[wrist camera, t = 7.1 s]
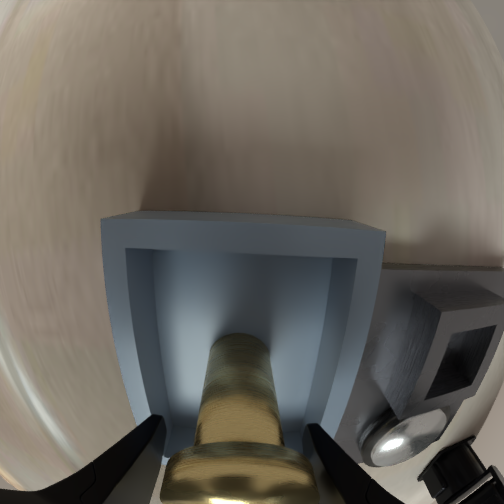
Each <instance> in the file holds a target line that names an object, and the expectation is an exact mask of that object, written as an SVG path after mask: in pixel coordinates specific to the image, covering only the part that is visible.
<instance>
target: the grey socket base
mask: <svg viewBox="0 0 504 504" xmlns="http://www.w3.org/2000/svg"><path fill="white" fill-rule="evenodd" d="M503 331H504V268H502V267H482V266H450V265H421V264H394V263H382V267H381V273H380V279H379V285H378V290H377V295H376V300H375V305H374V310H373V315H372V319H371V323H370V328H369V332H368V336H367V340H366V344H365V347H364V351H363V355H362V358H361V362H360V365H359V369H358V372H357V375H356V379H355V382H354V385H353V388H352V391H351V394H350V397H349V400H348V403H347V405H346V408H345V411H344V414H343V416H342V419H341V422H340V424H339V427H338V429H337V432H336V434H335V437H334V439H333V440H334V441H335V442H336V443H337V444H338V445H339V446H340V447H341V448H342V449H343V450H344V451H345V452H346V453H347V454H348V455H349V456H350V457H351V458H352V459H353V460H354V461H355V462H356V463H357V464H358V463H363V462H364V463H365V464H366V465H368V466H371V467H384V466H392V465H395V464H398V463H401V462H404V461H406V460H408V459H410V458H412V457H414V456H415V455H417V454H419V453H420V452H421V451H423V450H424V449H425V448H427V447H428V446H429V445H430V444H431V443H432V442H435V441H438V440H439V439H440V437H441V436H442V434H443V433H444V431H445V430H446V428H447V427H448V425H449V424H450V422H451V421H452V419H453V417H454V416H455V414H456V412H457V411H458V409H459V407H460V406H461V404H462V402H463V400H464V399H467V398H469V397H472V396H474V395H475V394H476V392H477V390H478V388H479V386H480V384H481V382H482V380H483V378H484V376H485V374H486V372H487V370H488V368H489V366H490V363H491V361H492V359H493V357H494V354H495V352H496V350H497V347H498V345H499V342H500V339H501V337H502V334H503Z"/></svg>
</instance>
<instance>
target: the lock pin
mask: <svg viewBox="0 0 504 504" xmlns="http://www.w3.org/2000/svg"><path fill="white" fill-rule="evenodd" d="M160 500H161V502H162V503H163V504H318V503H319V501H320V495H319V491H318V487H317V483H316V479H315V475H314V471H313V467H312V464H311V462H310V460H309V459H308V458H307V457H306V456H304V455H303V454H301V453H300V452H297V451H295V450H293V449H290V448H286V447H285V444H284V438H283V432H282V426H281V420H280V414H279V408H278V402H277V396H276V390H275V384H274V379H273V373H272V367H271V361H270V355H269V351H268V348H267V346H266V345H265V344H264V343H263V342H262V341H261V340H260V339H258V338H257V337H255V336H253V335H250V334H245V333H232V334H228V335H225V336H223V337H221V338H220V339H218V340H217V341H216V342H215V343H214V344H213V345H212V347H211V349H210V353H209V358H208V363H207V369H206V375H205V380H204V386H203V392H202V397H201V403H200V409H199V415H198V421H197V427H196V433H195V440H194V446H192V447H188V448H185V449H183V450H180V451H179V452H177V453H175V454H174V455H173V456H171V457H170V459H169V460H168V462H167V465H166V469H165V474H164V478H163V483H162V487H161V492H160Z"/></svg>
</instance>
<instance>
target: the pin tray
mask: <svg viewBox="0 0 504 504" xmlns="http://www.w3.org/2000/svg"><path fill="white" fill-rule="evenodd" d="M385 238H386V231H383V230H380V229H377V228H374V227H371V226H368V225H365V224H362V223H358V222H355V221H352V220H343V219H330V218H317V217H302V216H287V215H269V214H249V213H225V212H192V211H135V212H130V213H126V214H121V215H116V216H112V217H107V218H103V219H101V241H102V256H103V268H104V278H105V287H106V295H107V302H108V309H109V315H110V321H111V327H112V333H113V338H114V343H115V348H116V352H117V357H118V361H119V365H120V370H121V374H122V378H123V381H124V385H125V389H126V392H127V396H128V399H129V402H130V406H131V409H132V412H133V415H134V418H135V421H136V424H137V426H138V425H139V424H141V423H142V422H143V421H144V420H145V419H147V418H148V417H149V416H150V415H152V414H158V415H162V416H163V417H164V420H165V424H166V428H167V435H166V440H165V446H164V452H163V458H162V463H161V464H163V465H167V462H168V460H169V459H170V457H171V456H173V455H174V454H175V453H177V452H179V451H180V450H183V449H185V448H188V447H192V446H194V440H195V433H196V427H197V421H198V415H199V409H200V403H201V397H202V392H203V386H204V380H205V375H206V369H207V363H208V358H209V353H210V349H211V347H212V345H213V344H214V343H215V342H216V341H217V340H218V339H220V338H221V337H223V336H225V335H228V334H232V333H245V334H250V335H253V336H255V337H257V338H258V339H260V340H261V341H262V342H263V343H264V344H265V345H266V346H267V348H268V351H269V355H270V361H271V367H272V373H273V379H274V384H275V390H276V396H277V402H278V408H279V414H280V420H281V426H282V432H283V438H284V444H285V447H286V448H290V449H293V450H295V451H297V452H300V453H301V454H303V445H302V436H303V433H304V429H305V426H306V424H307V423H318V424H319V425H320V426H321V427H322V428H323V429H324V430H325V431H326V432H327V433H328V434H329V435H330V436H331V438H332V439H334V437H335V434H336V432H337V429H338V427H339V424H340V422H341V419H342V416H343V414H344V411H345V408H346V405H347V403H348V400H349V397H350V394H351V391H352V388H353V385H354V382H355V379H356V375H357V372H358V369H359V365H360V362H361V358H362V355H363V351H364V347H365V344H366V340H367V336H368V332H369V328H370V323H371V319H372V315H373V310H374V305H375V300H376V295H377V290H378V285H379V279H380V273H381V267H382V260H383V253H384V246H385Z"/></svg>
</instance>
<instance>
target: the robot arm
mask: <svg viewBox="0 0 504 504" xmlns="http://www.w3.org/2000/svg"><path fill="white" fill-rule="evenodd" d="M166 435H167V428H166V424H165V420H164V417H163V416H162V415H158V414H152V415H150V416H149V417H148V418H147V419H145V420H144V421H143V422H142V423H141V424H139V425H138V426H137V427H136V428H134V429H133V430H132V431H131V432H129V433H128V434H127V435H126V436H124V437H123V438H122V439H121V440H119V441H118V442H117V443H116V444H114V445H113V446H112V447H110V448H109V449H108V450H107V451H105V452H104V453H103V454H101V455H100V456H99V457H97V458H96V459H95V460H93V462H90V463H89V464H88V465H86V466H85V467H84V468H82V469H81V470H79V471H78V472H76V473H74V474H72V475H71V476H69V477H67V478H65V479H63V480H61V481H59V482H57V483H55V484H53V485H51V486H49V487H47V488H44V489H42V490H38V491H17V490H7V489H0V504H149V503H150V500H151V496H152V493H153V490H154V487H155V484H156V480H157V477H158V474H159V471H160V467H161V463H162V458H163V452H164V446H165V440H166ZM475 439H476V437H475V435H474V436H472V437H470V438H468V439H466V440H464V441H462V442H460V443H458V444H456V445H454V446H451V447H449V448H447V449H445V450H443V451H441V452H440V453H439V454H438V455H437V456H436V457H435V459H434V460H433V461H432V462H431V464H430V465H429V466H428V467H427V468H426V469H425V471H424V472H423V473H422V474H421V475H420V476H419V477H418V479H417V480H418V482H419V481H422V480H424V482H425V484H426V486H427V488H428V490H429V493H430V495H431V497H432V498H435V499H436V501H437V503H438V504H456V503H457V502H459V501H460V500H462V499H463V498H465V497H466V496H467V495H469V494H470V493H471V492H472V491H474V490H475V489H476V488H477V487H479V486H480V485H481V484H482V483H484V482H485V481H486V480H487V479H488V478H489V477H491V476H493V478H492V479H491V480H489V481H487V482H485V483H484V484H483V485H482V486H481V487H479V488H478V489H477V490H476V491H474V492H473V493H472V494H470V495H469V496H468V497H467V498H465V499H464V500H462V501H461V502H460V503H458V504H504V478H503V476H502V475H501V473H500V472H499V470H498V469H497V468H496V467H495V466H493V465H491V466H490V467H488V469H487V470H486V468H485V467H484V465H483V464H482V462H481V461H480V459H479V458H478V456H477V455H476V453H475V452H474V450H473V449H472V448H471V446H470V445H471V444H472V443H473V442H474V440H475ZM302 445H303V455H304V456H306V457H307V458H308V459H309V460H310V462H311V464H312V467H313V471H314V475H315V479H316V483H317V487H318V491H319V495H320V501H319V503H318V504H405V503H403V502H402V501H400V500H399V499H397V498H396V497H394V496H393V495H391V494H390V493H389V492H387V491H386V490H385V489H384V488H383V487H381V486H380V485H379V484H378V483H377V482H376V481H375V480H374V479H371V477H370V476H369V475H368V474H367V473H366V472H365V471H364V470H363V469H362V468H361V467H360V466H359V465H358V464H357V463H356V462H355V461H354V460H353V459H352V458H351V457H350V456H349V455H348V454H347V453H346V452H345V451H344V450H343V449H342V448H341V447H340V446H339V445H338V444H337V443H336V442H335V441H334V440H333V439H332V438H331V436H330V435H329V434H328V433H327V432H326V431H325V430H324V429H323V428H322V427H321V426H320V425H319V424H318V423H307V424H306V426H305V429H304V433H303V436H302Z"/></svg>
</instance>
